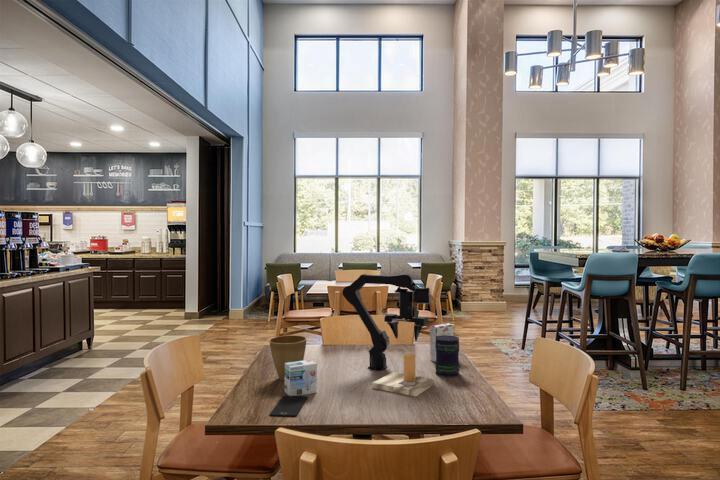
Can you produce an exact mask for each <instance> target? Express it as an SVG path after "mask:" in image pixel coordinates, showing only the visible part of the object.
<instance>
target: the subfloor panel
mask: <svg viewBox="0 0 720 480" xmlns="http://www.w3.org/2000/svg"><path fill="white" fill-rule="evenodd" d="M434 385H435V379H434V378H429V377H425V376H424V377H423V376H422V377H421V376H419V375H417V376H416V375H415V386H414V387H412V386H407V385H404V373H400V372H394V371H392V372H390V373H389V374H386V375H385V376H383V377H381V378H379V379H377V380H374V381H373V382H372V389H377V390H381V391H387V392H391V393H395V394H399V395H407V396H411V397H418V396H419V395H421V394H422V393H423V392H425V391H427V390H428V389H430V388H431V387H433V386H434Z"/></svg>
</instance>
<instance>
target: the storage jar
mask: <svg viewBox="0 0 720 480" xmlns="http://www.w3.org/2000/svg"><path fill="white" fill-rule="evenodd" d="M435 347H436V348H435V349H436V362H435V363H434V364H435V375H436V376H439V377H442V378H456V377H459V375H460V359H459V352H460V338H459V337H458V336H455V335H454V336H447V335H444V336H437V337H436V343H435Z"/></svg>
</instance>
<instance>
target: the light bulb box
mask: <svg viewBox="0 0 720 480" xmlns="http://www.w3.org/2000/svg"><path fill="white" fill-rule="evenodd" d="M317 369H318V363H316V362H315V361H313V360H312V359H306V360H305V359H303V361H296V362H289V363H285V381H284V393H286V395H287V396H306V395H310V394H317V393H318V391H317V389H318V386H317V384H318V381H317V380H318V379H317V378H318V377H317V376H318V375H317V374H318V370H317Z"/></svg>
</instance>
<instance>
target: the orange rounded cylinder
mask: <svg viewBox="0 0 720 480" xmlns="http://www.w3.org/2000/svg"><path fill="white" fill-rule="evenodd" d="M403 374H404V385H407V386H412V387H414V386H415V376H416V354H414V353H404V354H403Z"/></svg>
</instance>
